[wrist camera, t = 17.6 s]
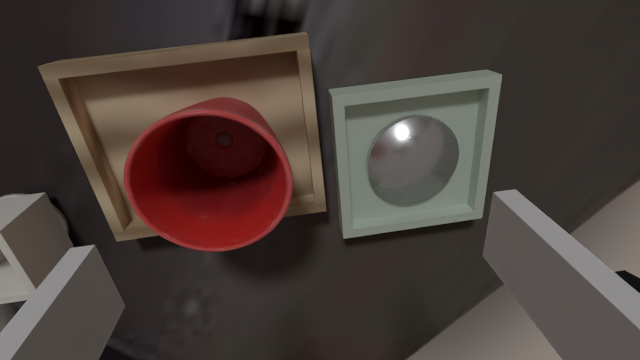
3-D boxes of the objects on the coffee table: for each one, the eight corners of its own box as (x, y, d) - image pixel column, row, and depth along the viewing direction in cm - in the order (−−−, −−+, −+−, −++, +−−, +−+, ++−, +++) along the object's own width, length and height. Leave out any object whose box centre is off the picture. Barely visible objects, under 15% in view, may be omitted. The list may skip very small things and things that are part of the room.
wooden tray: (59, 60, 29) (37, 66, 26) (305, 32, 30) (308, 35, 27) (128, 223, 36) (116, 241, 33) (322, 196, 37) (326, 211, 34)
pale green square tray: (327, 89, 32) (331, 96, 30) (486, 69, 33) (502, 74, 31) (339, 225, 39) (343, 238, 37) (470, 205, 40) (482, 218, 38)
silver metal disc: (364, 121, 33) (366, 123, 32) (459, 108, 33) (463, 111, 32) (368, 203, 37) (369, 208, 36) (451, 191, 37) (455, 195, 37)
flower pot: (159, 70, 29) (111, 101, 20) (293, 86, 31) (301, 120, 22) (166, 185, 33) (129, 249, 25) (282, 193, 35) (285, 255, 27)
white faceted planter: (-28, 198, 33) (-98, 245, 27) (50, 188, 33) (-1, 231, 27) (10, 257, 36) (-45, 310, 30) (80, 247, 37) (41, 297, 30)
